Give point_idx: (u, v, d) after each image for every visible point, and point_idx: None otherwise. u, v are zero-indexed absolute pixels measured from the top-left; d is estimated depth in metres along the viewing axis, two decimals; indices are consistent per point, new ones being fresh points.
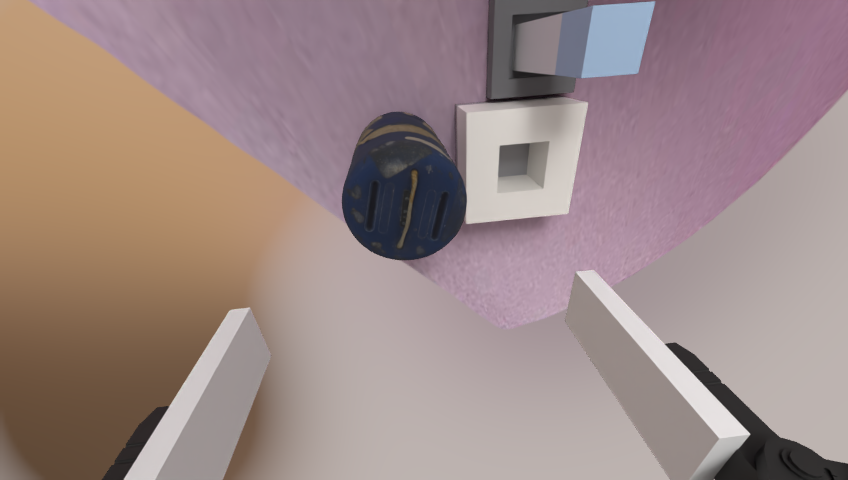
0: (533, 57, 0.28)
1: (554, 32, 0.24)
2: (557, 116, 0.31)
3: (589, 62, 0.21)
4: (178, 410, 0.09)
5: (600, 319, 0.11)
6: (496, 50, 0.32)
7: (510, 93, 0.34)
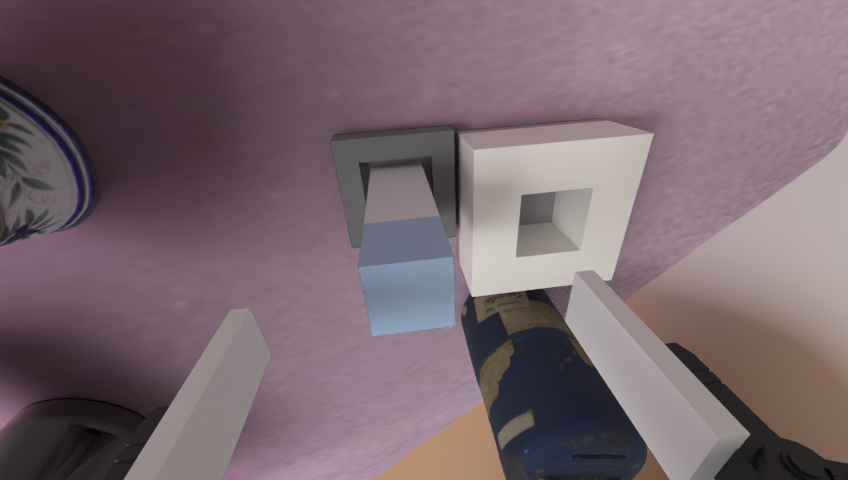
0: None
1: None
2: (488, 191, 0.22)
3: (436, 322, 0.15)
4: (178, 410, 0.09)
5: (600, 319, 0.11)
6: None
7: (450, 216, 0.27)
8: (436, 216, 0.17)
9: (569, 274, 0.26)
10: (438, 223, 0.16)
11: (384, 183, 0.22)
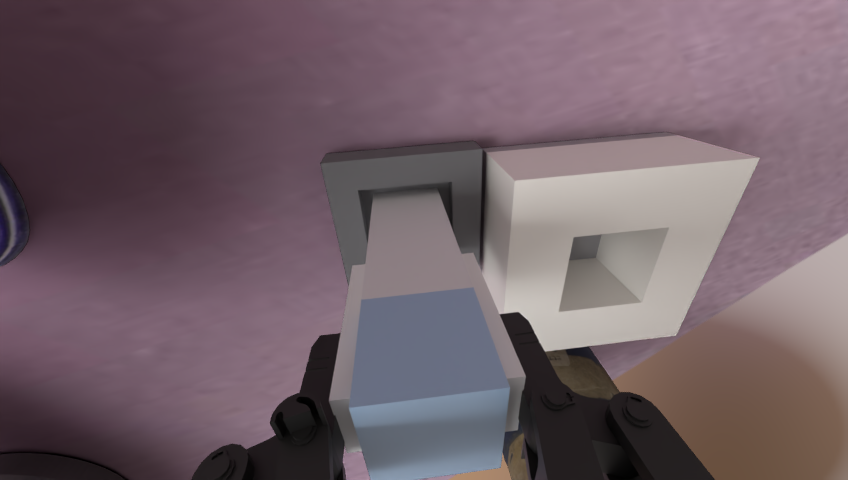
0: None
1: None
2: (530, 233, 0.16)
3: (472, 465, 0.10)
4: (350, 332, 0.11)
5: None
6: None
7: None
8: (468, 288, 0.11)
9: (624, 330, 0.21)
10: (474, 304, 0.11)
11: (390, 222, 0.16)
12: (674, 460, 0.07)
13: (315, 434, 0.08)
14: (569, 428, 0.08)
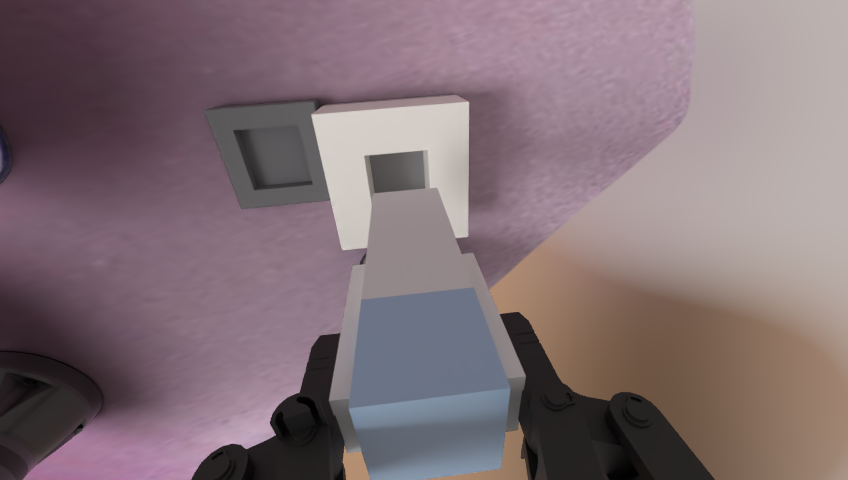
0: None
1: None
2: (333, 152, 0.25)
3: (472, 466, 0.10)
4: (350, 332, 0.11)
5: None
6: (288, 201, 0.31)
7: None
8: (469, 288, 0.11)
9: None
10: (474, 304, 0.11)
11: (390, 222, 0.16)
12: (674, 460, 0.07)
13: (315, 434, 0.08)
14: (569, 428, 0.08)
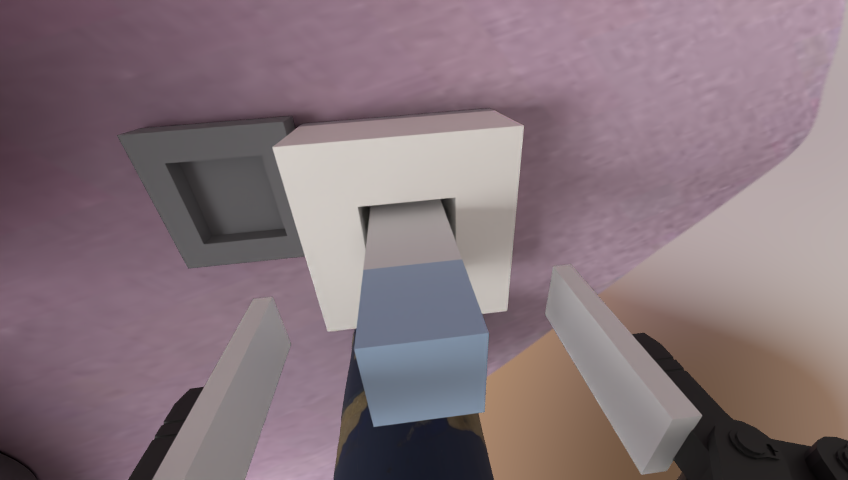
0: None
1: None
2: (310, 202, 0.16)
3: (459, 409, 0.11)
4: (213, 389, 0.09)
5: (574, 311, 0.12)
6: (253, 257, 0.22)
7: None
8: (457, 260, 0.13)
9: None
10: (461, 272, 0.12)
11: (389, 208, 0.18)
12: None
13: None
14: None
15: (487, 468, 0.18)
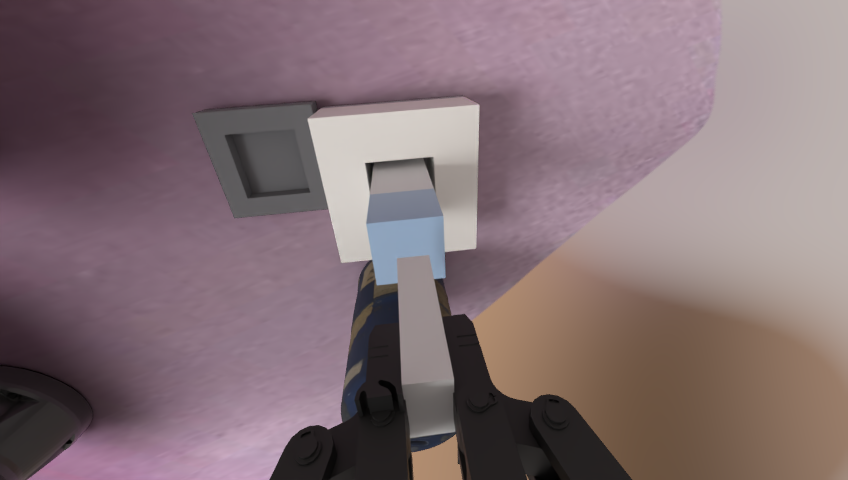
0: None
1: None
2: (331, 159, 0.23)
3: None
4: (408, 321, 0.11)
5: None
6: (284, 209, 0.29)
7: None
8: (431, 188, 0.20)
9: None
10: (432, 194, 0.19)
11: (387, 165, 0.25)
12: (590, 458, 0.07)
13: (393, 418, 0.08)
14: (492, 429, 0.08)
15: None
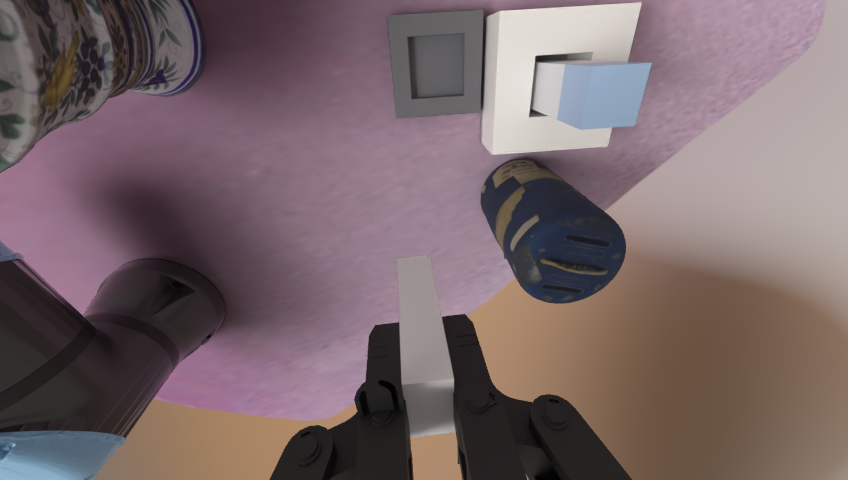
0: None
1: None
2: (509, 50, 0.28)
3: (624, 121, 0.23)
4: (408, 321, 0.11)
5: None
6: (439, 111, 0.34)
7: (477, 91, 0.33)
8: (614, 61, 0.24)
9: (572, 138, 0.32)
10: (621, 61, 0.24)
11: (548, 61, 0.29)
12: (590, 458, 0.07)
13: (393, 418, 0.08)
14: (492, 429, 0.08)
15: None
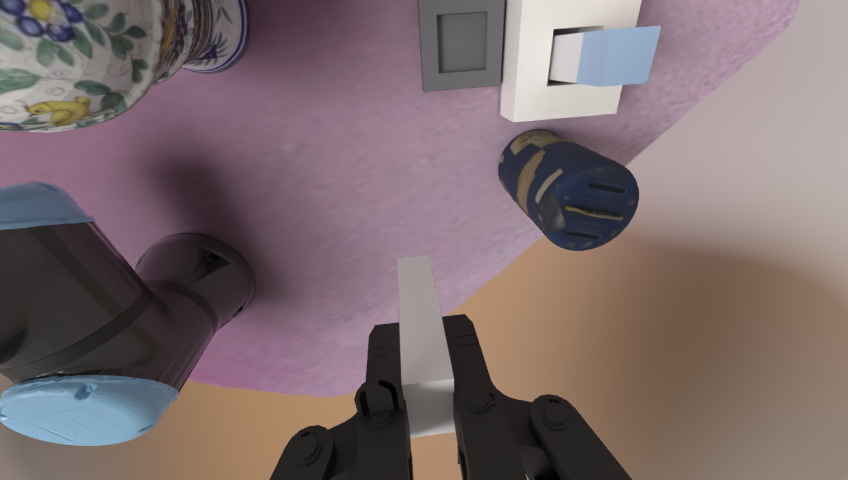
0: None
1: None
2: (531, 24, 0.31)
3: (637, 78, 0.26)
4: (408, 321, 0.11)
5: None
6: (463, 85, 0.37)
7: (497, 66, 0.37)
8: None
9: (585, 105, 0.36)
10: None
11: None
12: (590, 458, 0.07)
13: (393, 418, 0.08)
14: (492, 429, 0.08)
15: None
